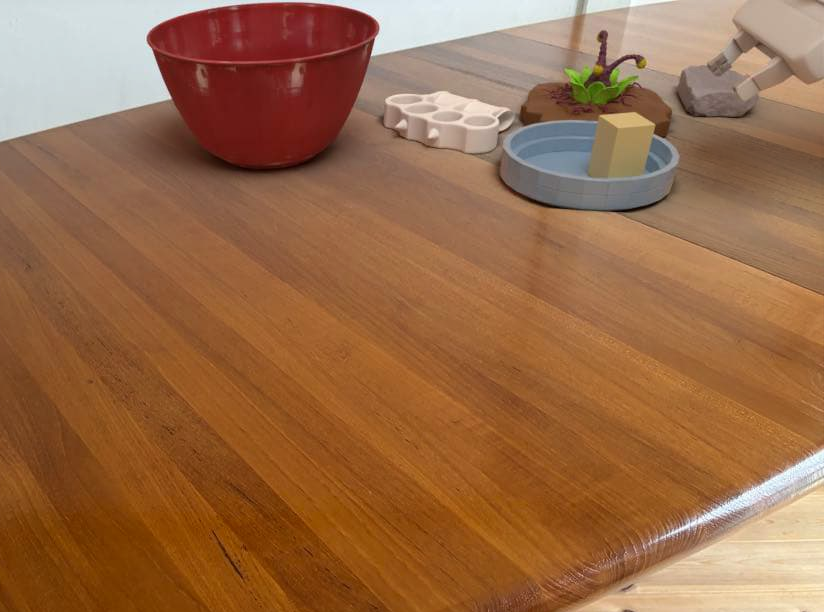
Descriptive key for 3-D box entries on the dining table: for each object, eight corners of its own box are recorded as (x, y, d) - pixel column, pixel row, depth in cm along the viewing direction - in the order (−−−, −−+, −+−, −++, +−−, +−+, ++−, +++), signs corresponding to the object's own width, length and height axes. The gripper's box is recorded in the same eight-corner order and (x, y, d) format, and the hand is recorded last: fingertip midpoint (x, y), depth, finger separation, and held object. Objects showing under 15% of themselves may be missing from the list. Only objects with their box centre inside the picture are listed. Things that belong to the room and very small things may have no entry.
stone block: (734, 104, 124) (669, 88, 124) (752, 72, 121) (684, 56, 121) (752, 134, 115) (681, 117, 115) (771, 101, 112) (698, 83, 112)
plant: (653, 98, 122) (673, 17, 115) (680, 145, 107) (704, 54, 100) (515, 95, 125) (526, 15, 118) (522, 140, 110) (535, 52, 103)
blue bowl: (656, 154, 104) (664, 123, 102) (683, 220, 89) (694, 185, 87) (498, 147, 108) (503, 117, 105) (499, 209, 93) (504, 175, 90)
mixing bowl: (203, 211, 95) (190, 72, 85) (135, 135, 116) (119, 16, 106) (414, 167, 103) (423, 36, 94) (315, 104, 124) (315, -8, 115)
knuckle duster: (532, 134, 111) (462, 163, 104) (430, 105, 122) (361, 129, 115) (535, 109, 109) (465, 137, 102) (432, 82, 120) (362, 104, 113)
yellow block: (621, 170, 99) (635, 111, 95) (641, 184, 96) (655, 124, 91) (586, 173, 99) (598, 115, 94) (604, 188, 95) (618, 127, 91)
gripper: (923, 28, 74) (772, 134, 81) (831, -13, 90) (712, 79, 97) (890, -27, 72) (738, 87, 79) (802, -59, 88) (683, 38, 95)
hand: (723, 82), depth 88 cm, fingers open, 8 cm apart
